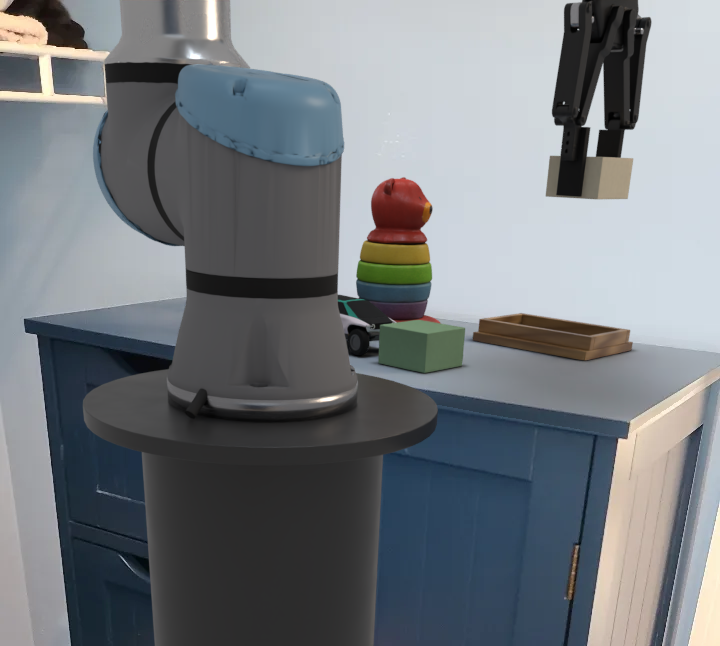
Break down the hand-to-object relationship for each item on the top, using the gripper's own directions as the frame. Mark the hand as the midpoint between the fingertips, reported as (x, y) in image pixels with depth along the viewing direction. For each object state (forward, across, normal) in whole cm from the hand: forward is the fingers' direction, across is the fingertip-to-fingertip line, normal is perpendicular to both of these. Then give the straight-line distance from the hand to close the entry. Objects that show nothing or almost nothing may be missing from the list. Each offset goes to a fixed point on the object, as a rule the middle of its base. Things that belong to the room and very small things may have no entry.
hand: (586, 195), depth 104 cm
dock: (+17, +4, +4) cm, 18 cm away
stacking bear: (+17, -6, +21) cm, 28 cm away
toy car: (+17, -18, +18) cm, 31 cm away
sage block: (+17, -20, +6) cm, 27 cm away
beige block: (0, 0, 0) cm, 0 cm away
